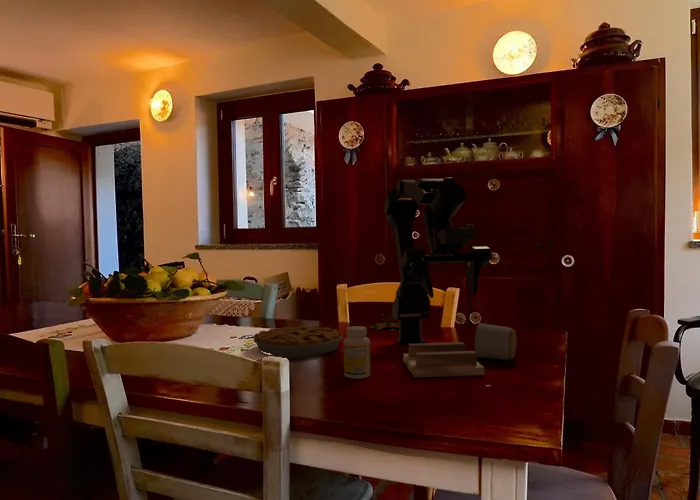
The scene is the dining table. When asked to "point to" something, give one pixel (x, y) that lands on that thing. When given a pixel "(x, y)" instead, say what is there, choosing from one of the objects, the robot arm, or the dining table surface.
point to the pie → (298, 341)
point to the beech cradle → (442, 360)
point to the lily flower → (386, 324)
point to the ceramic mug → (495, 342)
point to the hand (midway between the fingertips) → (453, 296)
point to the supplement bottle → (356, 353)
